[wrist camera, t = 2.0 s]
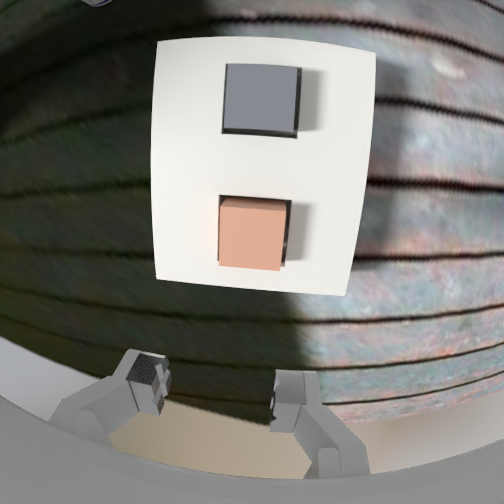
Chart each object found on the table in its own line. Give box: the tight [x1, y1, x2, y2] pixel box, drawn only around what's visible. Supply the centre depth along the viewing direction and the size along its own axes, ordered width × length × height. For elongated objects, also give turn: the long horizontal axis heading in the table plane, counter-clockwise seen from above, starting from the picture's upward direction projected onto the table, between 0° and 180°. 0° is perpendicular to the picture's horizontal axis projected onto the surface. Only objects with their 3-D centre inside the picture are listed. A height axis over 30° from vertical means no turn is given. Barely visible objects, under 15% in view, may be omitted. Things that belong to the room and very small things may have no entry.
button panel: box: [151, 37, 376, 296], centre depth 25 cm, size 18×22×5 cm
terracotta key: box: [219, 196, 286, 271], centre depth 25 cm, size 5×5×4 cm
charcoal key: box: [224, 64, 297, 132], centre depth 21 cm, size 5×5×4 cm
